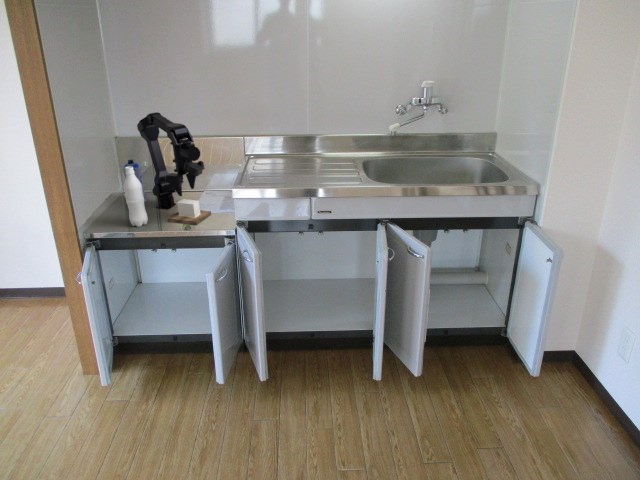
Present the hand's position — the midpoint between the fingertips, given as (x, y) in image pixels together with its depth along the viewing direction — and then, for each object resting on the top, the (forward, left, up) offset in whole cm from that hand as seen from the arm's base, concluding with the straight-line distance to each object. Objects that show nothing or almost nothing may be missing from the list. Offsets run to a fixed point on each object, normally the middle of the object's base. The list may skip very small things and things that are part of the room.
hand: (186, 192), depth 212 cm
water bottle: (-17, -12, -12) cm, 24 cm away
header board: (0, 0, -12) cm, 12 cm away
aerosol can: (-35, +11, -12) cm, 39 cm away
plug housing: (0, 0, -10) cm, 10 cm away
